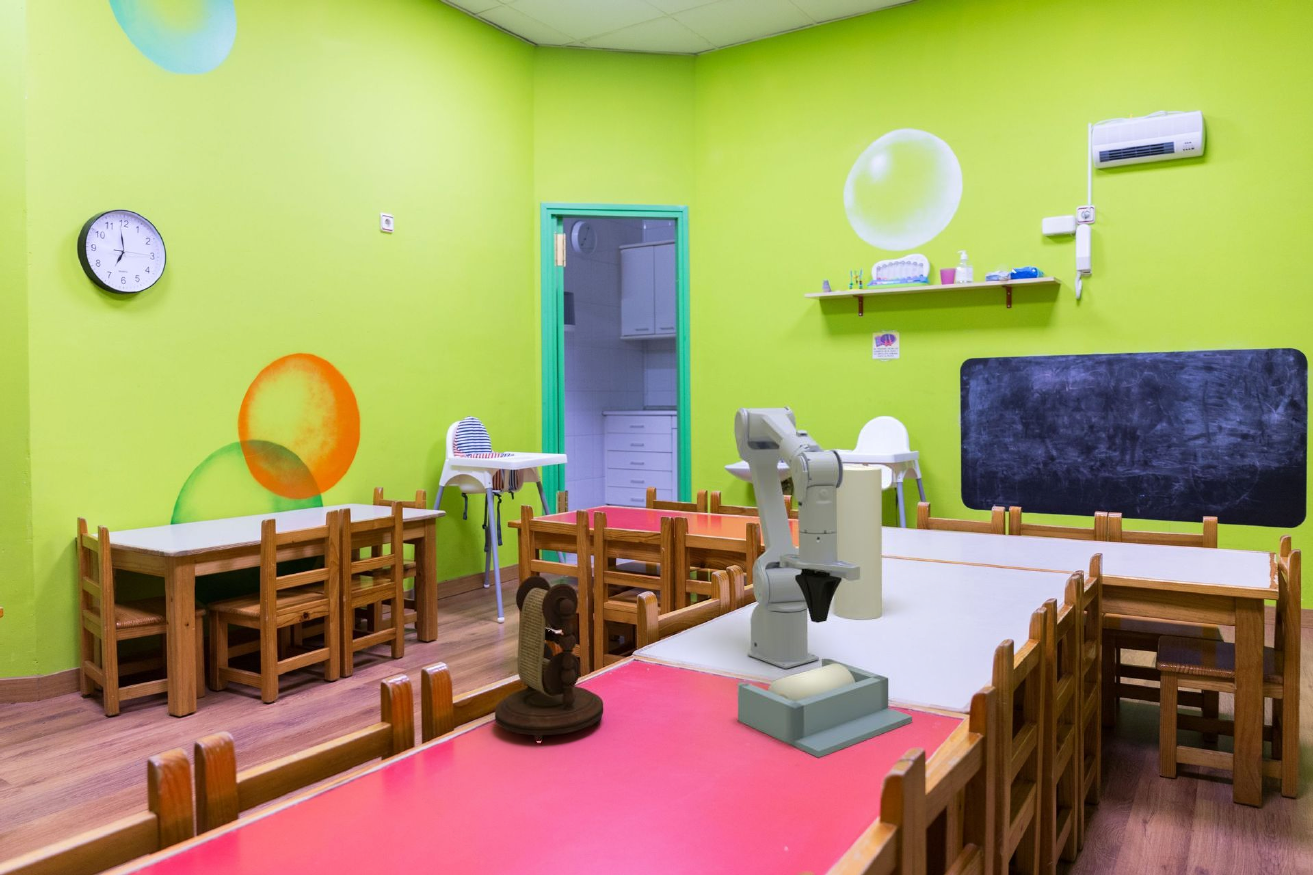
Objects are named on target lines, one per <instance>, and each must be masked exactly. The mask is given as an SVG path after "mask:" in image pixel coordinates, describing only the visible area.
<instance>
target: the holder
mask: <svg viewBox="0 0 1313 875" xmlns="http://www.w3.org/2000/svg"><path fill="white" fill-rule="evenodd" d="M834 663H835V664H840V665H842V666H844V667H845V668H847V669H848V670H849V672H850V673H851V674H852V676H853V678H854V680H855V683H853V684H849V685H846V686H843V687H840V688H837V689H834V690H830V691H827V692H824V693H821V694H818V695H815V696H811V697H808V698H805V699H802V700H799V701H796V702H794V701H792V700H789V699H787V698H784V697H782V696H779V695H777V694H774V693H772V692H769V691H768V690H767V689H764V688H761V687H759V686H756V685H754V684H751V683H749V682H744V681H742V682H738V683H737V721H738V722H739V723H741V724H744V725H747V726H748V727H751V728H752V729H755V730H757V731H759V732H762V733H764V734H766V735H768V736H771V737H773V738H775V739H777V740H779V741H781V742H783V743H786V744H788V745H790V746H792V747H794V748H796V749H799V750H801V751H803V752H805V753H807V754H809V755H812V756H814V757H816V758H822V757H824V756H827V755H829V754H832V753H834V752H837V751H841V750H843V749H846V748H848V747H850V746H854V745H855V744H858V743H861V742H863V741H866V740H869V739H872V738H875V737H877V736H879V735H882V734H884V733H887V732H888V733H889V732H891V731H892V730H895V729H899V728H901V727H903V726H906V725H908V724H910V723H913V716H912V715H910V714H907V713H905V712H902V711H899V710H896V709H893V708H890V707H889V677H886V676H884V675H880V674H877V673H875V672H871V671H868V670H865V669H862V668H860V667H859V668H858V667H856V666H853V665H849V664H846V663H843V662H840V661H837V660H834V659H832V658H823V659H821V667H823V666H827V665H830V664H834Z"/></svg>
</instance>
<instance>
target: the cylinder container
mask: <svg viewBox="0 0 1313 875" xmlns="http://www.w3.org/2000/svg"><path fill="white" fill-rule="evenodd" d="M882 477H883V476H882V467H880V466H879V467H878V466H873V465H872V466H871V465H870V466H869V465H861V464H853V465H846V466H845V465H843V480H842V484H841V486H840V487H839V488H836V489H837V559H838V560H841V561H844V562H846V563H849V564H852V565H857V566H860V579H859V580H853V581H849V580H846V579H845V578H842V581H841V582H840V584H839V585H838V587H837V589H836V591H835V593H834V596H833V613H834V615H835V616H837V617H840V618H843V619H847V620H861V621H864V620H875V619H878V618H881V617H882V615H883V579H882V578H883V561H882V560H883V550H882V549H883V545H882V544H883V543H882V542H883V540H882V539H883V536H882V533H883V525H882V524H883V523H882V522H883V521H882V519H883V518H882V515H883V514H882V512H883V511H882V509H883V508H882V507H883V505H882V503H883V502H882V499H883V498H882V497H883V496H882V493H883V492H882V486H883V485H882V484H883V483H882V480H883V479H882Z"/></svg>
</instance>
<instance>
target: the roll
mask: <svg viewBox="0 0 1313 875" xmlns="http://www.w3.org/2000/svg"><path fill="white" fill-rule="evenodd" d="M853 683H855V680H854V678H853V676H852V674H851V673H850V672H849V670H848V669H847V668H845V667H844V666H842V665H840V664H835V663H834V664H830V665H827V666H823V667H822V666H821V667H817V668H814V669H809V670H807V671H804V672H800V673H799V672H798V673H797V674H792V675H789V676H786V677H782V678H779V679H776V680H773V681H772V682H771V683H770V685H769V687H768V689H767V691H769V692H772V693H774V694H777V695H779V696H782V697H784V698H787V699H789V700H792V701H794V702H796V701H799V700H802V699H805V698H808V697H811V696H815V695H818V694H821V693H824V692H827V691H830V690H834V689H837V688H840V687H843V686H846V685H849V684H853Z"/></svg>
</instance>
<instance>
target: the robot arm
mask: <svg viewBox="0 0 1313 875" xmlns="http://www.w3.org/2000/svg"><path fill="white" fill-rule="evenodd" d="M796 427H797V422H796V417H795V413H794V411H793V410H792V409H791V407H789V406H784V407H757V408H756V407H755V408H754V407H751V408H749V407H746V408H745V407H739V408H738V409H737V411H736V413H735V416H734V428H733V429H734V431H733V433H734V438H735V443H736V449H737V452H738V455H739V459H741V460H743V461H744V462H746V463H747V465H748V468H749V472H750V476H751V482H752V486H753V491H754V498H755V503H756V507H757V514H758V518H759V524H760V528H761V533H762V540H763V545H764V549H765V551H764V552H763V553H762V554H761V555H760V556H758V558H756V559H755V561H754V563H753V566H752V578H753V580H752V588H753V594H754V598H755V601H756V602H757V605H756V606H755V607H754V609H753V610H752V613H751V616H750V650H749V651H747V652H746V653H747V656H749V657H752V658H754V659H758V660H761V661H763V662H766V663H768V664H769V663H770V664H772V665H774V666H777V667H779V668H782V667H783V669H789V668H794V667H797V666H800V665H804V664H807V663H810V662H814V661H818V660H819V659H820V657H819V655H816V654H812V653H810V652H809V650H808V645H809V644H808V641H809V640H808V613H809V617H810V622H813V623H817V624H819V623H823V622H827V621H828V620H827V619H828V615H829V612H830V608H831V604H832V601H833V599H834V593H835V591H836V589H837V587H838V585H839V584H840V582H841V581H842V578H845V579H846V580H849V581H853V580H859V579H860V566H857V565H852V564H849V563H846V562H844V561H841V560H838V559H837V489H836V488H839V487H840V486H841V484H842V480H843V466H844V463H843V459H842V457H841V455H840V453H839V452H838V450H836V449H829V450H824V449H823V448H822V447H821V445H820V444H818V442H817V441H815V438H814V439H813V438H812V436H811V435H810V434H809V432H808V431H807V430H805V429H797V428H796ZM781 461H783V462H784V463H785V464H786V465H787V466H788V467H789V469H790V470H791V471H790V472H791V480H792V483H793V489H794V498H795V499H794V500H795V501H797V508H798V510H797V515H798V516H797V517H798V519H797V520H798V548H797V547H795V545H794V542H793V537H792V532H791V526H790V520H789V517H788V512H787V508H786V503H785V497H784V493H783V489H782V483H781V477H780V474H779V467H778V465H779V462H781Z"/></svg>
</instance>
